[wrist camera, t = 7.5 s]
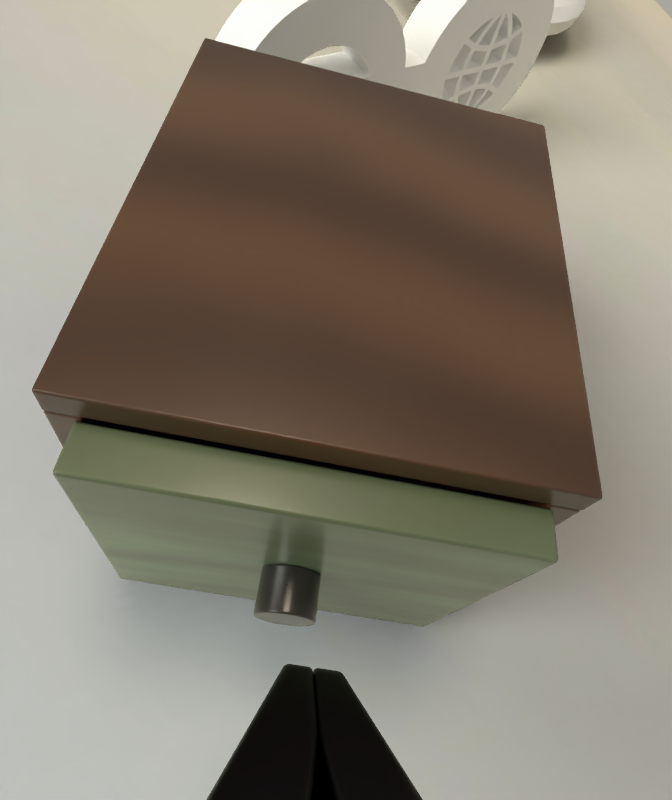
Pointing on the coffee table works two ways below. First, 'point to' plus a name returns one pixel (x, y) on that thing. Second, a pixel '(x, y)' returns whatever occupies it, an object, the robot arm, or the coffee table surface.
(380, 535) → the drawer
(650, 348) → the coffee table surface
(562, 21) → the vase
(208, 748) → the coffee table surface
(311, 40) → the white flat cutout piece
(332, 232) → the cabinet
